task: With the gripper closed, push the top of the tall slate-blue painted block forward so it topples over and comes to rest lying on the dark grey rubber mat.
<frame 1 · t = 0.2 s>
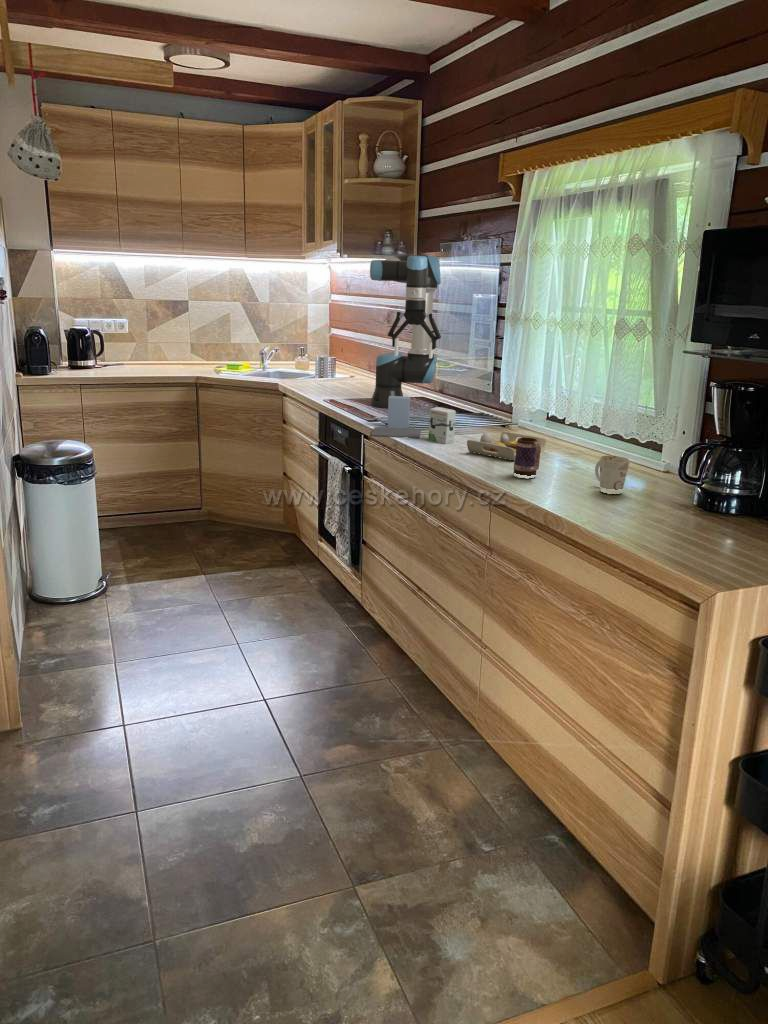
hand: (413, 356, 301), 27 cm above the countertop, fingers open, 13 cm apart
mat: (396, 433, 298), on the countertop
toy food set: (506, 453, 274), on the countertop
block: (398, 427, 308), on the countertop
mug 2: (526, 478, 242), on the countertop
mug: (605, 491, 230), on the countertop
ink box: (440, 442, 287), on the countertop
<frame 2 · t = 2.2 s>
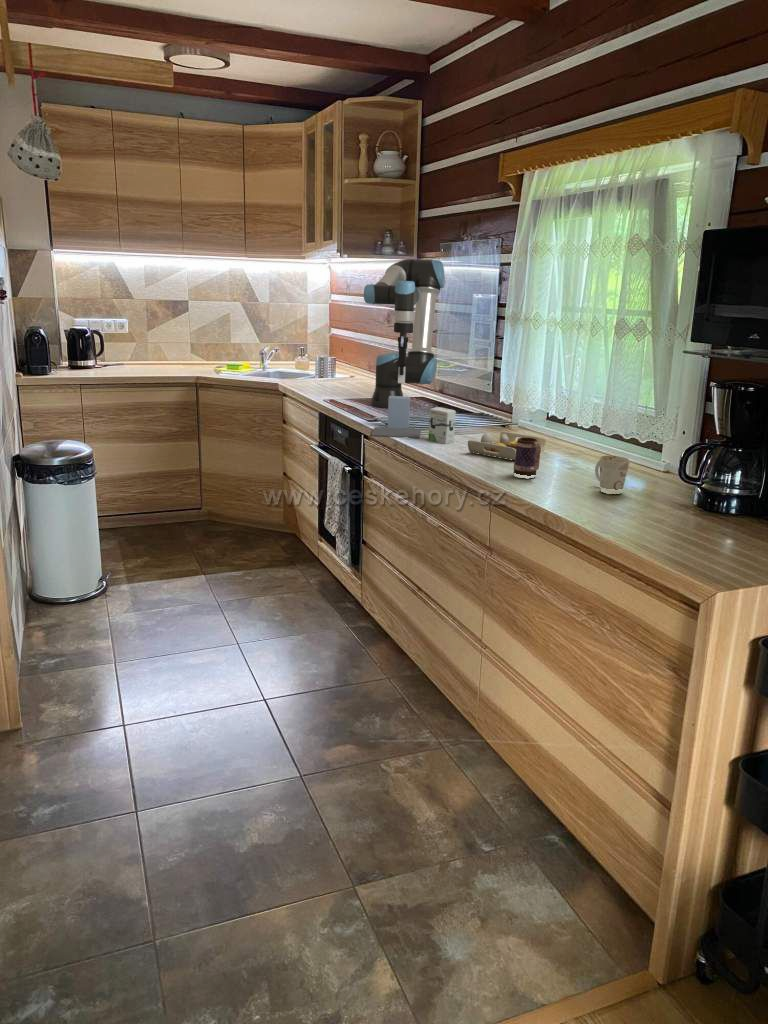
hand: (401, 382, 314), 16 cm above the countertop, fingers closed
nothing on the countertop moved.
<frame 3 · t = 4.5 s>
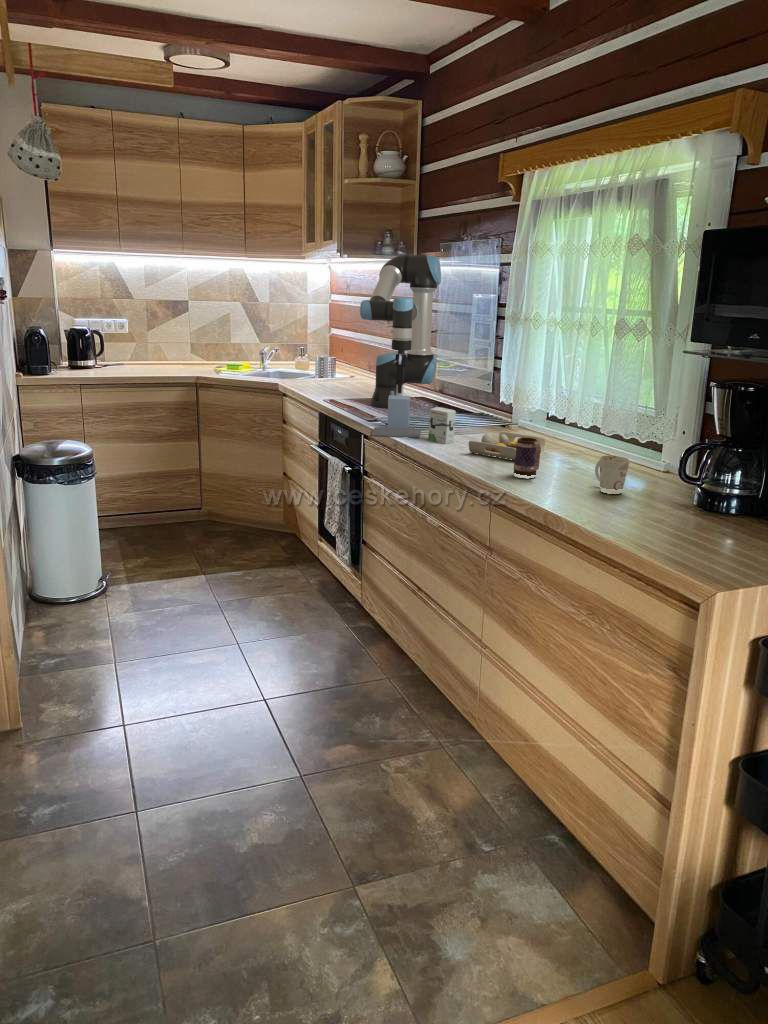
hand: (399, 401, 307), 10 cm above the countertop, fingers closed
block: (398, 427, 308), on the countertop, tilted 6°, touching gripper
everything else where it was.
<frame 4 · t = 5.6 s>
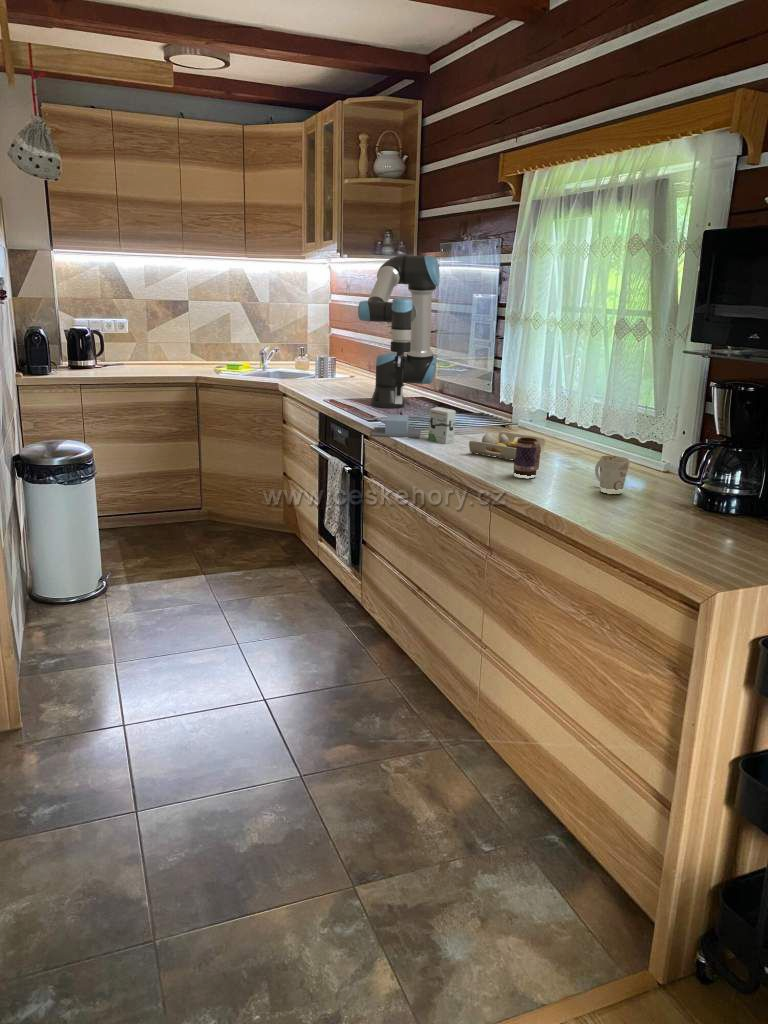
hand: (398, 403, 302), 10 cm above the countertop, fingers closed
block: (398, 421, 305), point 3 cm above the countertop, tilted 90°, touching mat
everything else where it was.
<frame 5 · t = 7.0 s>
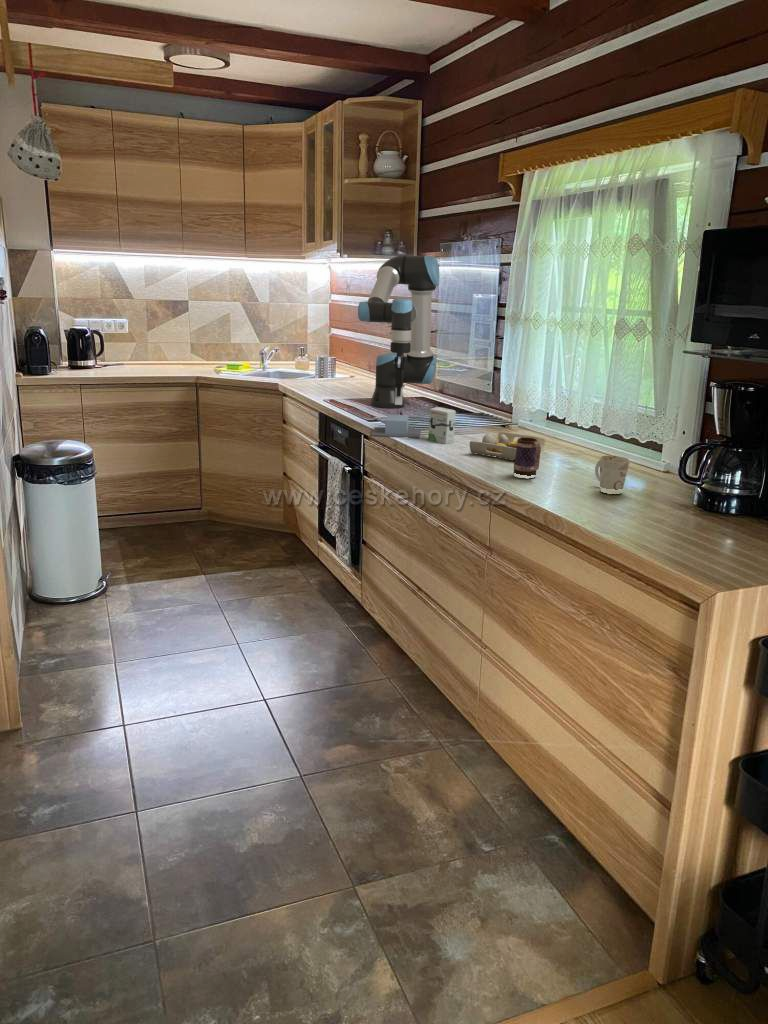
hand: (398, 404, 302), 10 cm above the countertop, fingers closed
nothing on the countertop moved.
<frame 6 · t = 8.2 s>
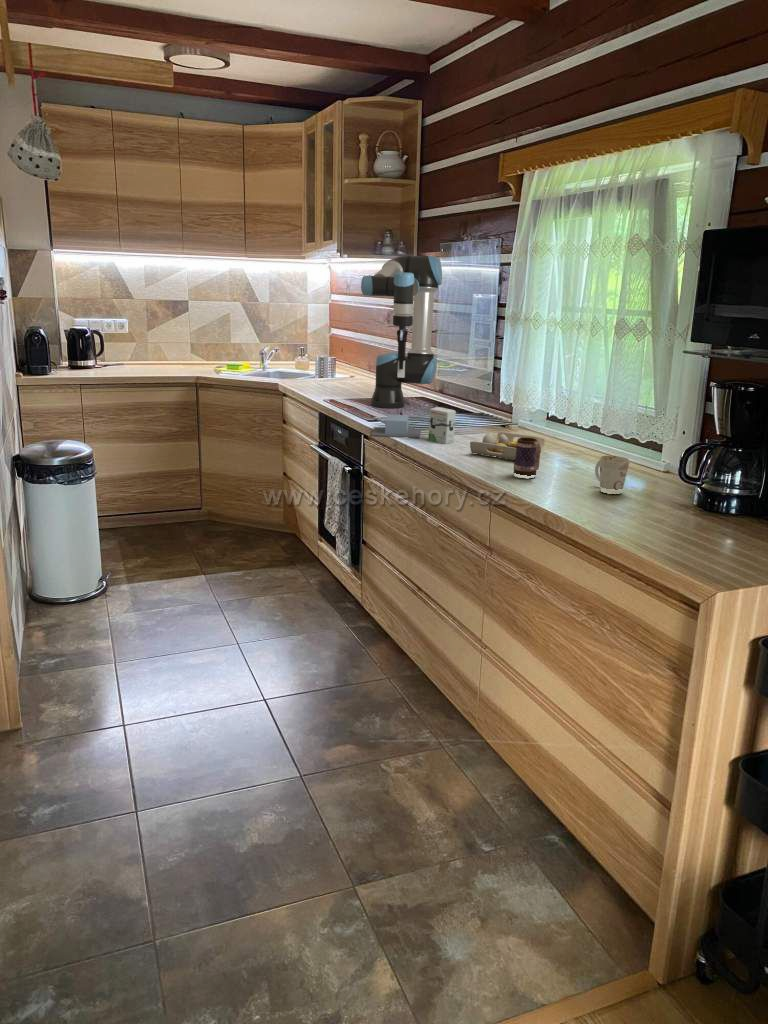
hand: (400, 377, 307), 19 cm above the countertop, fingers closed
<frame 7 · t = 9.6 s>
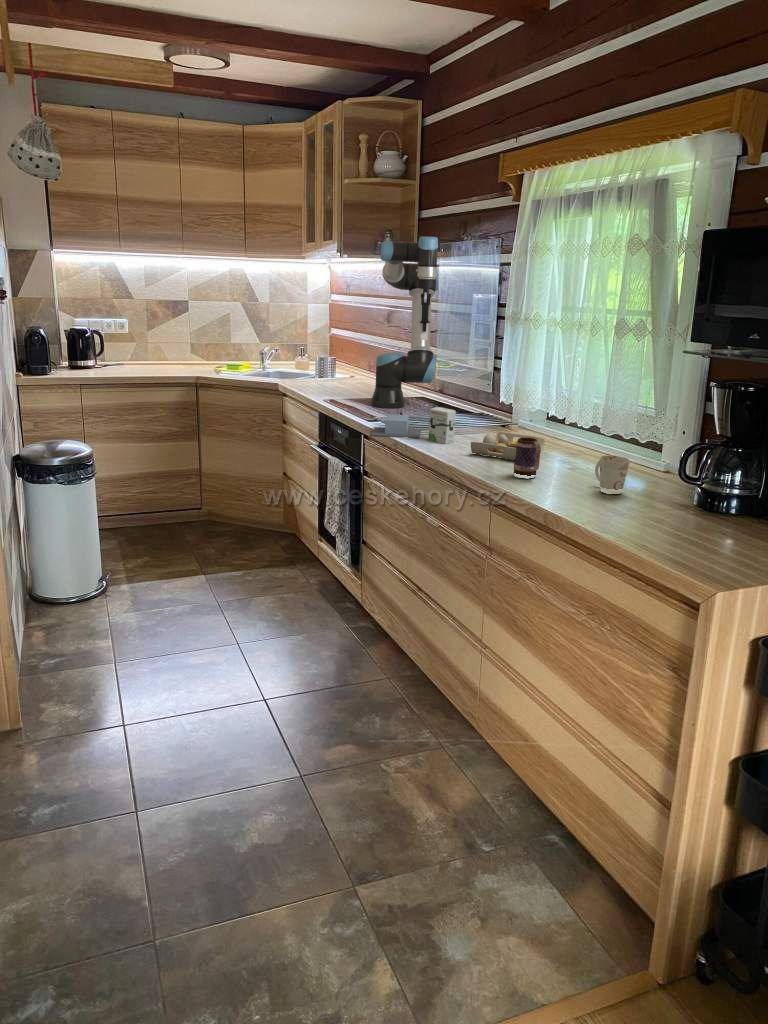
hand: (424, 339, 316), 32 cm above the countertop, fingers closed
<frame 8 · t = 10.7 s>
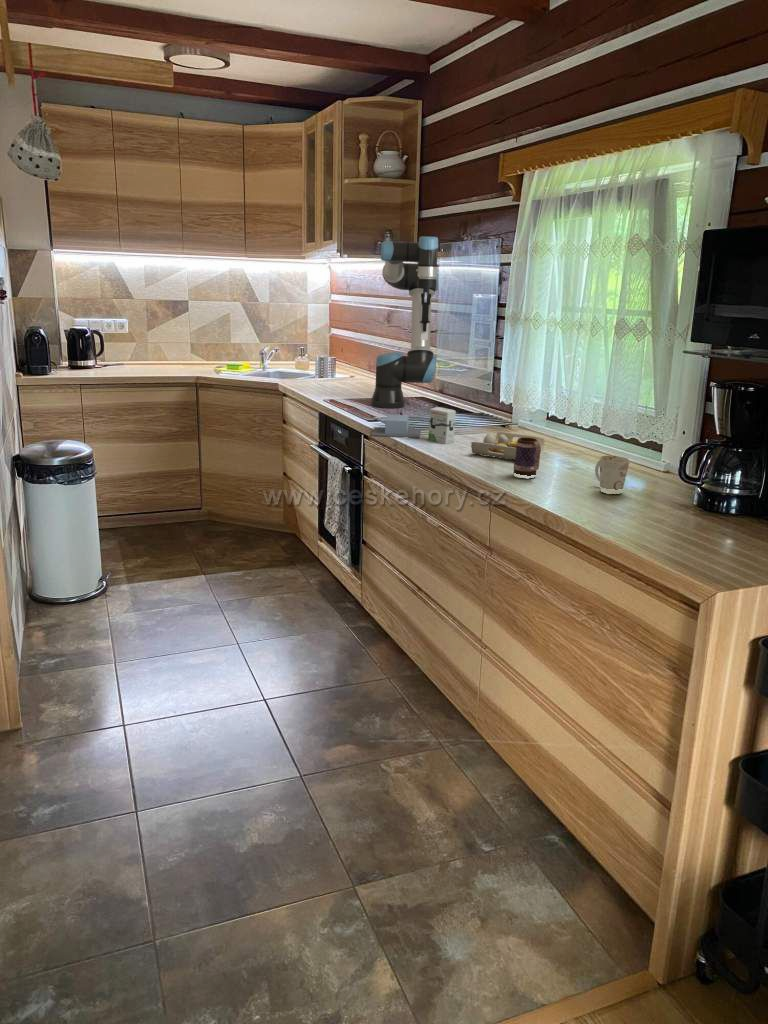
hand: (424, 339, 316), 32 cm above the countertop, fingers closed
at the end: block tilted 90°; block inside the target area (7.2 cm from its centre), point 3.0 cm above the countertop; the gripper is holding nothing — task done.
